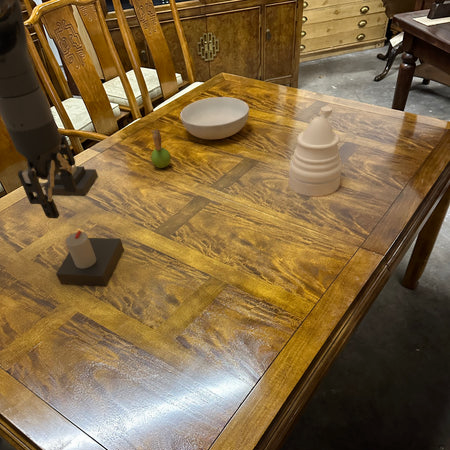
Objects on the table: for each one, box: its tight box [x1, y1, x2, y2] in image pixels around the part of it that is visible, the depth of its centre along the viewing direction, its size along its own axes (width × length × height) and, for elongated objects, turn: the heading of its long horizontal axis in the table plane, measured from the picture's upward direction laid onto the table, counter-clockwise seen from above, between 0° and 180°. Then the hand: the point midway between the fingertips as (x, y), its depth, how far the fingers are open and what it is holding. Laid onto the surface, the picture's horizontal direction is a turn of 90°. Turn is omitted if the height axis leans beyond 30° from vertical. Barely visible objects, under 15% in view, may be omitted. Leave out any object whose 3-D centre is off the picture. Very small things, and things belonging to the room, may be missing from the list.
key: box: [58, 164, 77, 177], centre depth 111 cm, size 4×4×2 cm
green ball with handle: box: [150, 129, 172, 169], centre depth 114 cm, size 5×6×12 cm
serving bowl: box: [179, 96, 250, 140], centre depth 129 cm, size 21×21×7 cm
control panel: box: [55, 237, 125, 287], centre depth 89 cm, size 10×12×3 cm
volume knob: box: [64, 230, 96, 269], centre depth 85 cm, size 4×4×6 cm
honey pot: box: [288, 106, 343, 197], centre depth 101 cm, size 13×13×18 cm
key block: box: [43, 166, 99, 197], centre depth 113 cm, size 11×10×4 cm
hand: (63, 203), depth 79 cm, fingers open, 8 cm apart
